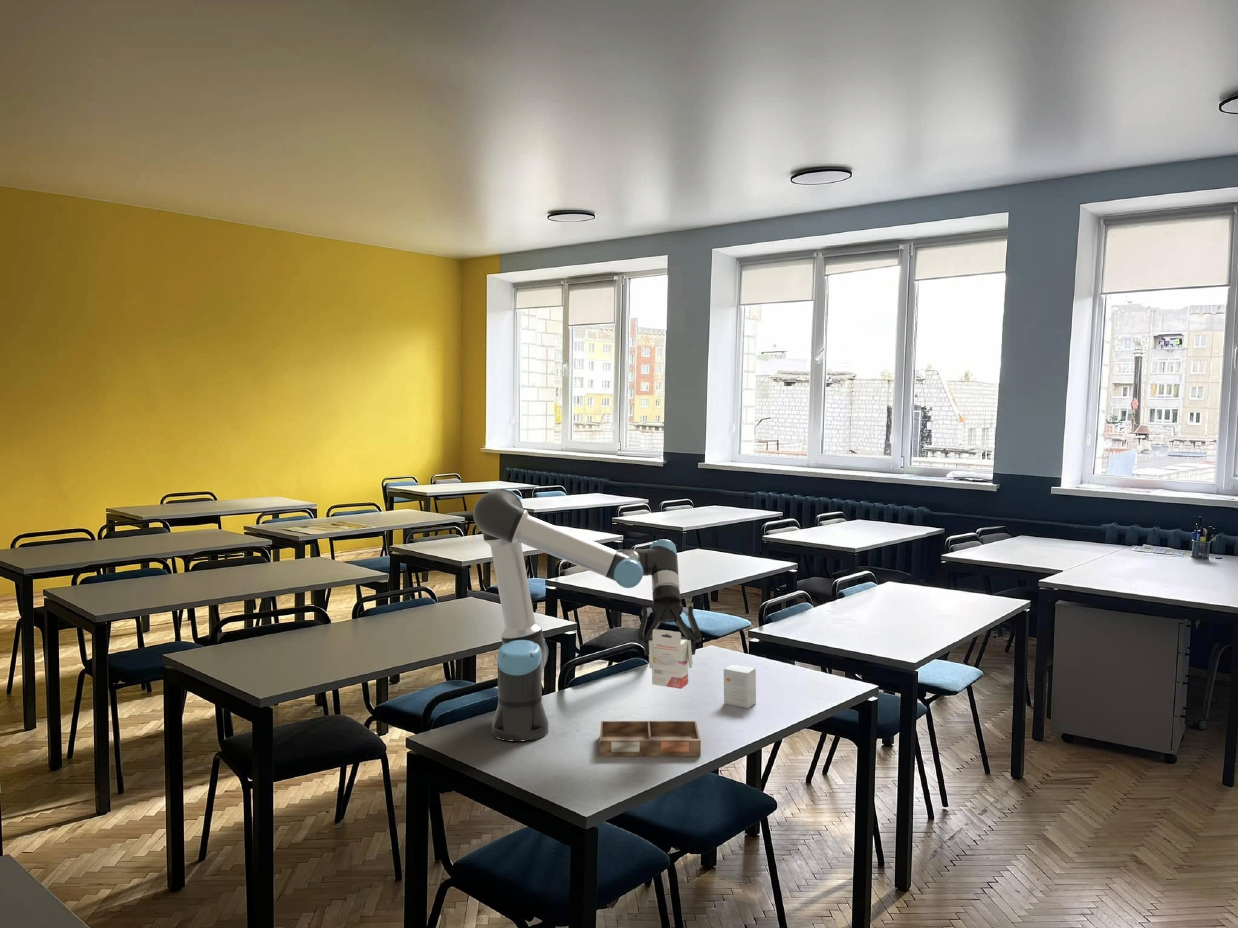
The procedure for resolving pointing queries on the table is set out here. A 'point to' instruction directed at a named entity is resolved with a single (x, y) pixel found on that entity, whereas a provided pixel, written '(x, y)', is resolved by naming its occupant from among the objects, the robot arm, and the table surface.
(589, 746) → the table surface
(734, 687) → the small box
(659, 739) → the wooden compartment tray
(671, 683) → the ink cartridge box
